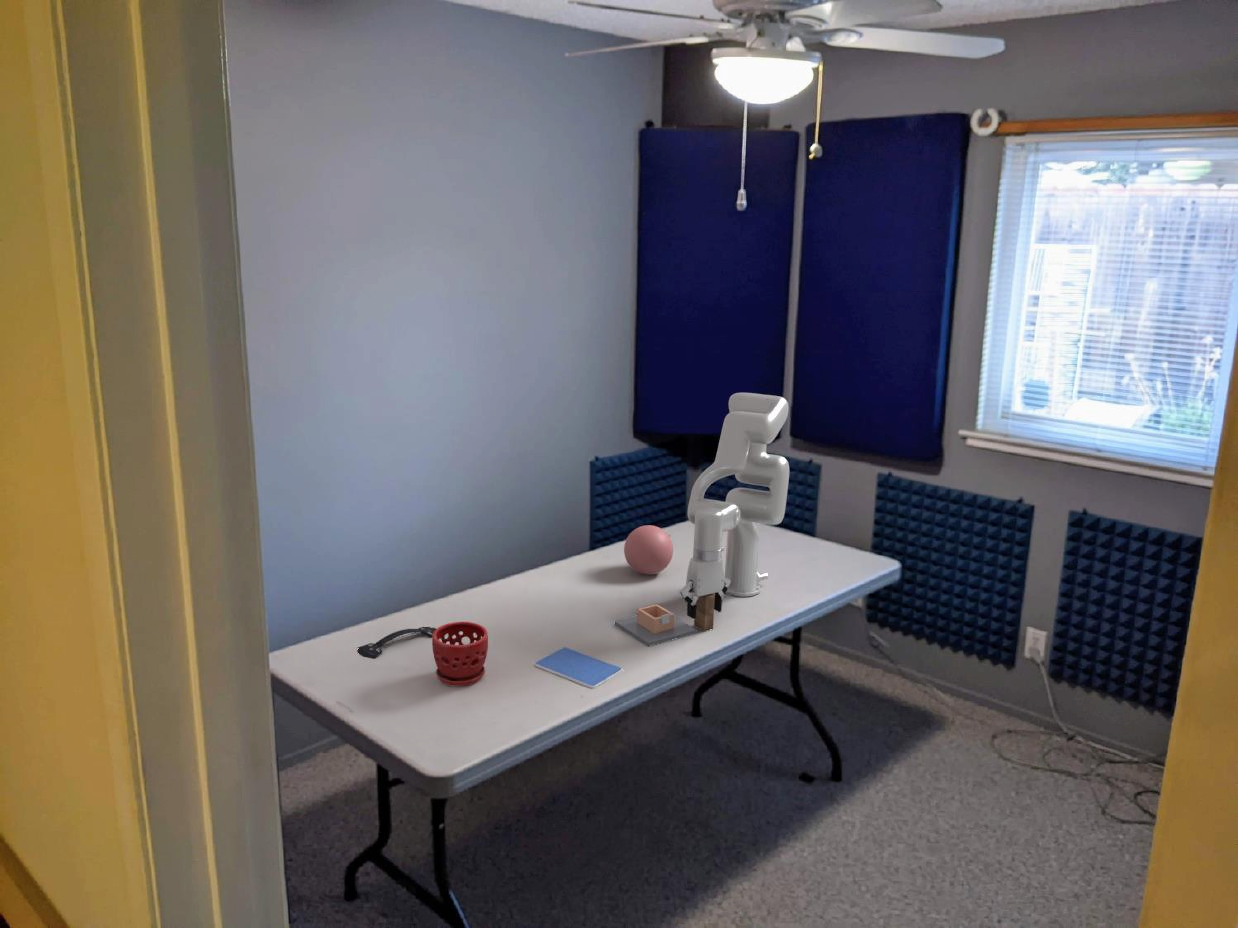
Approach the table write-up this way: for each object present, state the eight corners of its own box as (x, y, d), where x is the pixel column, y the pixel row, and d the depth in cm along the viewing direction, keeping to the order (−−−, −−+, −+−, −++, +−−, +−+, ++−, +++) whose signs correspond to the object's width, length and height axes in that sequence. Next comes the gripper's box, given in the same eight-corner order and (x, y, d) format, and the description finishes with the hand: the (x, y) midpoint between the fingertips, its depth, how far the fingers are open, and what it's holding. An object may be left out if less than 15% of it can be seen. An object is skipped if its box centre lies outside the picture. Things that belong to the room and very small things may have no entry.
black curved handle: (348, 652, 241) (347, 640, 240) (432, 626, 258) (431, 614, 257) (366, 665, 235) (366, 652, 234) (451, 636, 252) (451, 625, 251)
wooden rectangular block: (702, 623, 262) (704, 589, 260) (713, 629, 259) (714, 594, 256) (694, 625, 261) (695, 591, 258) (704, 631, 257) (706, 597, 255)
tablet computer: (624, 672, 234) (625, 667, 233) (593, 691, 224) (593, 686, 224) (564, 650, 245) (564, 645, 245) (532, 667, 235) (532, 663, 235)
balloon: (689, 568, 304) (691, 522, 300) (653, 585, 288) (655, 537, 284) (650, 557, 313) (652, 512, 309) (613, 573, 297) (614, 527, 293)
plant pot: (422, 677, 228) (421, 631, 225) (467, 660, 237) (466, 616, 234) (454, 697, 219) (453, 649, 216) (499, 679, 228) (499, 633, 225)
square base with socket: (661, 612, 269) (662, 593, 267) (696, 633, 256) (697, 613, 254) (614, 624, 260) (615, 605, 258) (648, 646, 247) (649, 626, 246)
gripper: (723, 544, 262) (719, 602, 266) (673, 554, 253) (670, 615, 257) (741, 552, 256) (737, 611, 260) (690, 563, 247) (687, 625, 251)
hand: (704, 613), depth 259 cm, fingers open, 8 cm apart
